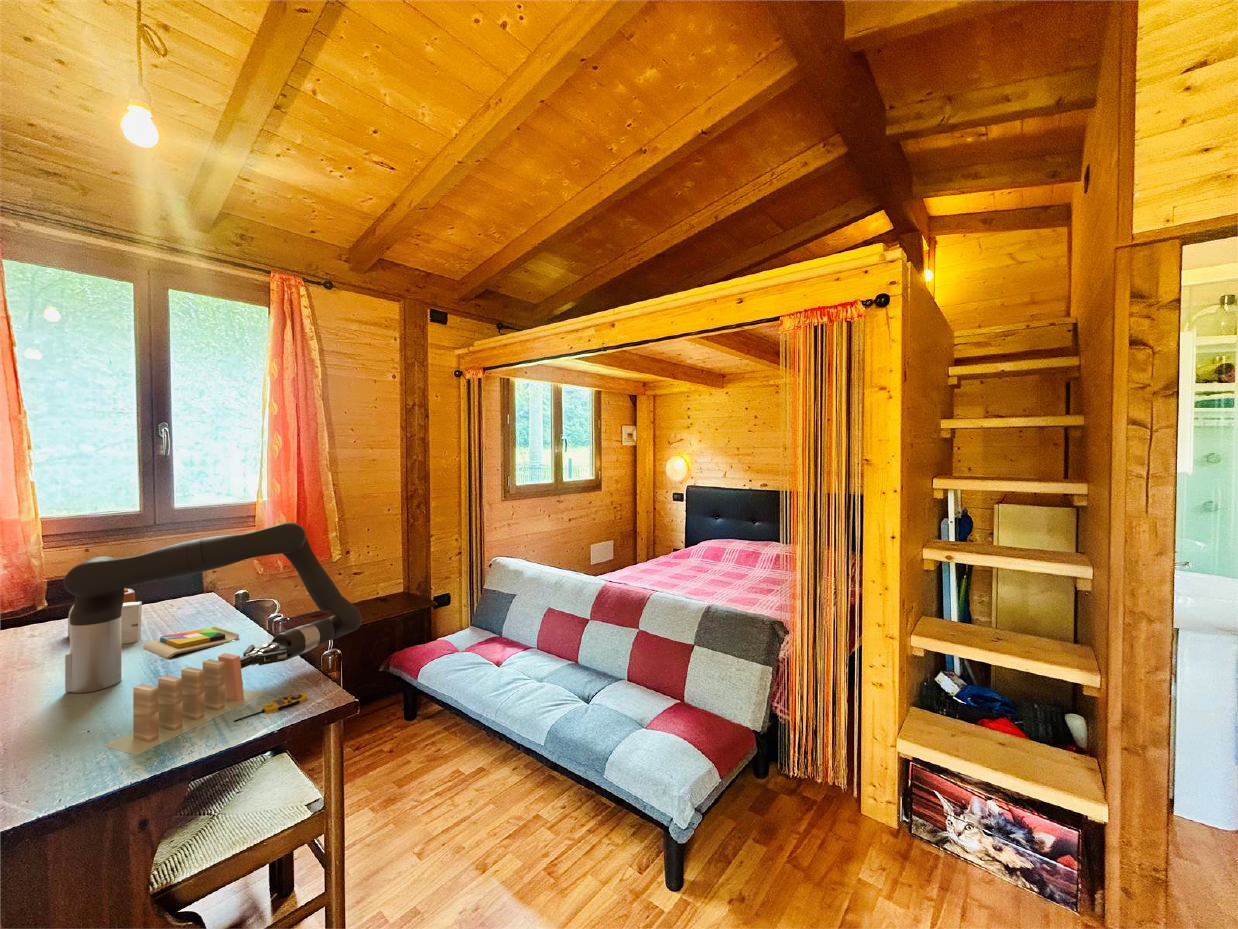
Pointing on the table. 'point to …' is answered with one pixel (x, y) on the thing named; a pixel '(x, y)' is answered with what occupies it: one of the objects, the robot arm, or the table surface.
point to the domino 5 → (232, 677)
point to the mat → (140, 746)
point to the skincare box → (131, 622)
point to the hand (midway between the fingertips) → (233, 666)
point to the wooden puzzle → (189, 641)
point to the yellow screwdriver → (280, 704)
